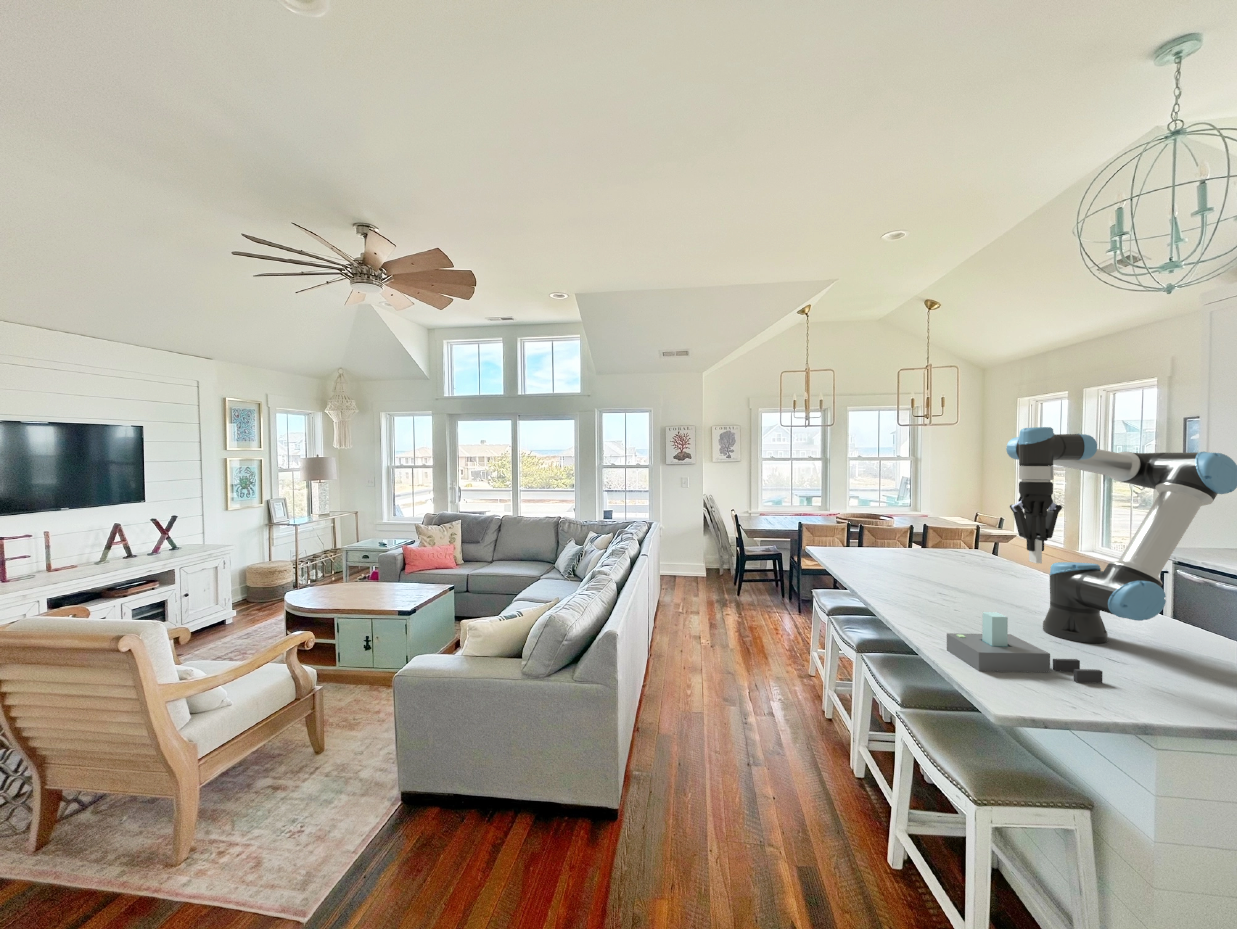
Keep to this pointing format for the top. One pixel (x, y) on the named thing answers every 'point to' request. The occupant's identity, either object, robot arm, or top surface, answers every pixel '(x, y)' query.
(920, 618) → the top surface
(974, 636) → the port block
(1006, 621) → the plug
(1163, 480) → the robot arm
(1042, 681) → the top surface
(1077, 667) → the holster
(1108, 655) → the top surface
